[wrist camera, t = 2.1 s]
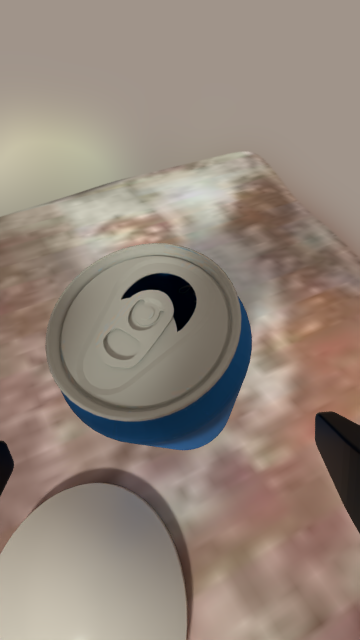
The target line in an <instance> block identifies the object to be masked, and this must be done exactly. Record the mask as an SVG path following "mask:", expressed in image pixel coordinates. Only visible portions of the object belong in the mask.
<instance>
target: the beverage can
mask: <svg viewBox="0 0 360 640" xmlns="http://www.w3.org/2000/svg"><path fill="white" fill-rule="evenodd" d="M251 350H252V336H251V329H250V323H249V320H248V316H247V313H246V310H245V308H244V306H243V304H242V302H241V300H240V299H239V297H238V296H237V293H236V291H235V288H234V286H233V284H232V282H231V281H230V279H229V278H228V276H227V275H226V274H225V272H224V271H223V270H222V269H221V268H220V267H219V266H218V265H217V264H216V263H214V262H213V261H212V260H211V259H209V258H208V257H206V256H205V255H203V254H201V253H199V252H197V251H195V250H192V249H189V248H186V247H183V246H178V245H173V244H164V243H152V244H142V245H136V246H131V247H128V248H124V249H121V250H118V251H116V252H113V253H111V254H109V255H107V256H105V257H103V258H101V259H99V260H98V261H96V262H94V263H93V264H91V265H90V266H89V267H87V268H86V269H85V270H83V271H82V272H81V273H80V274H79V275H78V276H77V277H76V278H75V279H74V280H73V281H72V282H71V283H70V284H69V285H68V287H67V288H66V289H65V291H64V292H63V293H62V295H61V296H60V298H59V300H58V301H57V303H56V305H55V307H54V309H53V312H52V314H51V317H50V320H49V323H48V327H47V333H46V356H47V362H48V365H49V369H50V372H51V374H52V376H53V378H54V380H55V382H56V384H57V385H58V387H59V388H60V389H61V392H62V394H63V396H64V398H65V400H66V402H67V403H68V405H69V406H70V408H71V409H72V410H73V412H74V413H75V414H76V415H77V416H78V417H79V418H80V419H81V420H82V421H83V422H84V423H85V424H87V425H88V426H89V427H91V428H92V429H93V430H95V431H97V432H98V433H100V434H102V435H104V436H106V437H109V438H112V439H115V440H118V441H122V442H128V443H134V444H141V445H148V446H155V447H162V448H169V449H176V450H191V449H195V448H199V447H201V446H204V445H206V444H207V443H209V442H211V441H212V440H213V439H214V438H216V437H217V436H218V435H219V433H220V432H221V431H222V430H223V428H224V427H225V425H226V423H227V421H228V419H229V416H230V414H231V411H232V408H233V406H234V403H235V401H236V398H237V396H238V393H239V391H240V388H241V386H242V383H243V381H244V378H245V376H246V372H247V369H248V366H249V363H250V356H251Z"/></svg>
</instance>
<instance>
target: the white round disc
mask: <svg viewBox="0 0 360 640" xmlns="http://www.w3.org/2000/svg"><path fill="white" fill-rule="evenodd" d="M187 624H188V616H187V596H186V587H185V580H184V575H183V571H182V566H181V562H180V559H179V556H178V553H177V549H176V547H175V544H174V542H173V540H172V538H171V535H170V533H169V531H168V530H167V528H166V526H165V524H164V523H163V521H162V519H161V518H160V517H159V516H158V514H157V513H156V512H155V510H154V509H153V508H152V507H151V506H150V505H149V504H148V503H147V502H146V501H145V500H144V499H142V498H141V497H140V496H138V495H137V494H135V493H134V492H132V491H130V490H128V489H126V488H124V487H121V486H118V485H115V484H109V483H89V484H83V485H79V486H75V487H72V488H69V489H66V490H64V491H62V492H60V493H58V494H56V495H54V496H53V497H51V498H50V499H48V500H47V501H45V502H44V503H42V504H41V505H40V506H39V507H38V508H36V509H35V510H34V511H33V512H32V513H31V514H30V515H29V516H28V517H27V518H26V519H25V520H24V521H23V522H22V524H21V525H20V526H19V527H18V529H17V530H16V531H15V532H14V534H13V535H12V537H11V538H10V540H9V541H8V543H7V544H6V546H5V547H4V549H3V551H2V553H1V554H0V640H187Z"/></svg>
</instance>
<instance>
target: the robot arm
mask: <svg viewBox="0 0 360 640" xmlns="http://www.w3.org/2000/svg"><path fill="white" fill-rule="evenodd" d="M315 441H316V445H317V447H318V450H319V452H320V454H321V456H322V458H323V461H324V463H325V465H326V467H327V469H328V472H329V474H330V476H331V478H332V480H333V482H334V485H335V487H336V489H337V491H338V493H339V496H340V498H341V500H342V502H343V504H344V506H345V508H346V510H347V512H348V514H349V516H350V517H351V519H352V521H353V523H354V525H355V526H356V528H357V530H358V532H359V533H360V425H358V424H356V423H354V422H352V421H350V420H348V419H346V418H345V417H343V416H341V415H339V414H337V413H335V412H331V411H330V412H319V413H317V414H316V417H315ZM13 468H14V461H13V459H12V456H11V454H10V451H9V449H8V446H7V444H6V443H5V442H4V441H0V496H1V494H2V492H3V490H4V488H5V486H6V484H7V481H8V479H9V477H10V475H11V473H12V471H13Z"/></svg>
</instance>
